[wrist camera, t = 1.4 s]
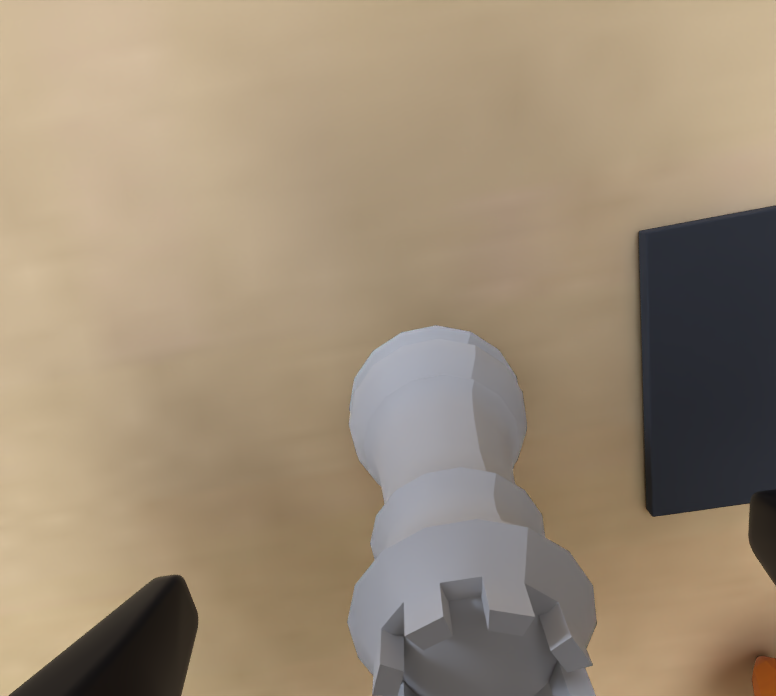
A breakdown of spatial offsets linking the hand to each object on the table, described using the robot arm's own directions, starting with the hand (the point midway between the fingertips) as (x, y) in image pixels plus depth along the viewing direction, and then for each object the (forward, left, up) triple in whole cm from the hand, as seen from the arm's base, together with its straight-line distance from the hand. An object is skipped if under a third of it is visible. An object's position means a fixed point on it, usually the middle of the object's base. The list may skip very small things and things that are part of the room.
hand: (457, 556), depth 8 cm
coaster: (0, -9, -6) cm, 11 cm away
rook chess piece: (0, 0, -6) cm, 6 cm away
